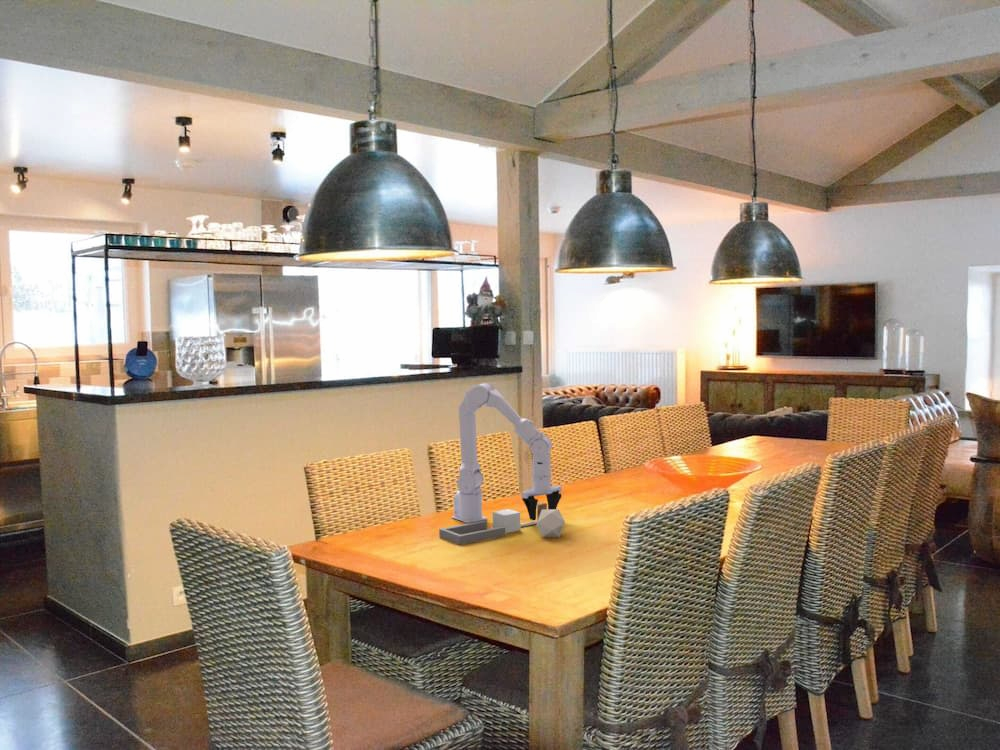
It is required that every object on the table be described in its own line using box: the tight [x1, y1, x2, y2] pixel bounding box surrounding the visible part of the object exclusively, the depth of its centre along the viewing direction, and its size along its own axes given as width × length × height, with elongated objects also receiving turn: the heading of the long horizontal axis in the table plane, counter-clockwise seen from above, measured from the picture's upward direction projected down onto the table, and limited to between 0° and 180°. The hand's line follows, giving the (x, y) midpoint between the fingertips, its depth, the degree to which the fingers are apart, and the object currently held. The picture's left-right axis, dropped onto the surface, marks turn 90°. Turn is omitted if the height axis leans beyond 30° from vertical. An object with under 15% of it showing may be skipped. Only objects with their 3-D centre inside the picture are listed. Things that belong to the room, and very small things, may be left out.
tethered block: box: [492, 502, 548, 534], centre depth 270 cm, size 6×18×6 cm, turn 126°
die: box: [535, 508, 566, 538], centre depth 258 cm, size 8×9×10 cm
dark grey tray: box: [438, 520, 506, 546], centre depth 259 cm, size 11×16×2 cm
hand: (542, 517), depth 274 cm, fingers open, 7 cm apart
